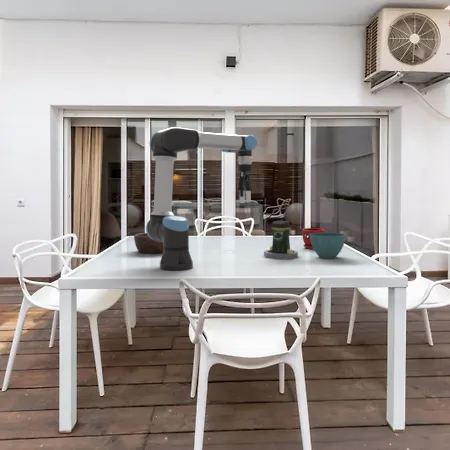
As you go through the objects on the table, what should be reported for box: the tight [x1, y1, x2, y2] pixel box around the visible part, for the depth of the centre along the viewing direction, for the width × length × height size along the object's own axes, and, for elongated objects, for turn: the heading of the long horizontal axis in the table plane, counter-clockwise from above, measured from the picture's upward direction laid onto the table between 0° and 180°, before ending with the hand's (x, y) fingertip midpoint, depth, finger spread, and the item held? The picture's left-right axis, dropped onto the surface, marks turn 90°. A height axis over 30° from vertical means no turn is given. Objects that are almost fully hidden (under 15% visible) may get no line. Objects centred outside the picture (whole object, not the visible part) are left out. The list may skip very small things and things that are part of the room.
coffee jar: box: [271, 220, 291, 254], centre depth 215 cm, size 10×8×19 cm
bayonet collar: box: [263, 245, 299, 260], centre depth 215 cm, size 18×18×4 cm
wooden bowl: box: [133, 232, 163, 255], centre depth 236 cm, size 25×25×10 cm
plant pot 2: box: [310, 232, 347, 259], centre depth 211 cm, size 18×18×12 cm
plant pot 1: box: [301, 227, 325, 250], centre depth 244 cm, size 13×13×12 cm
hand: (245, 202), depth 224 cm, fingers open, 13 cm apart
